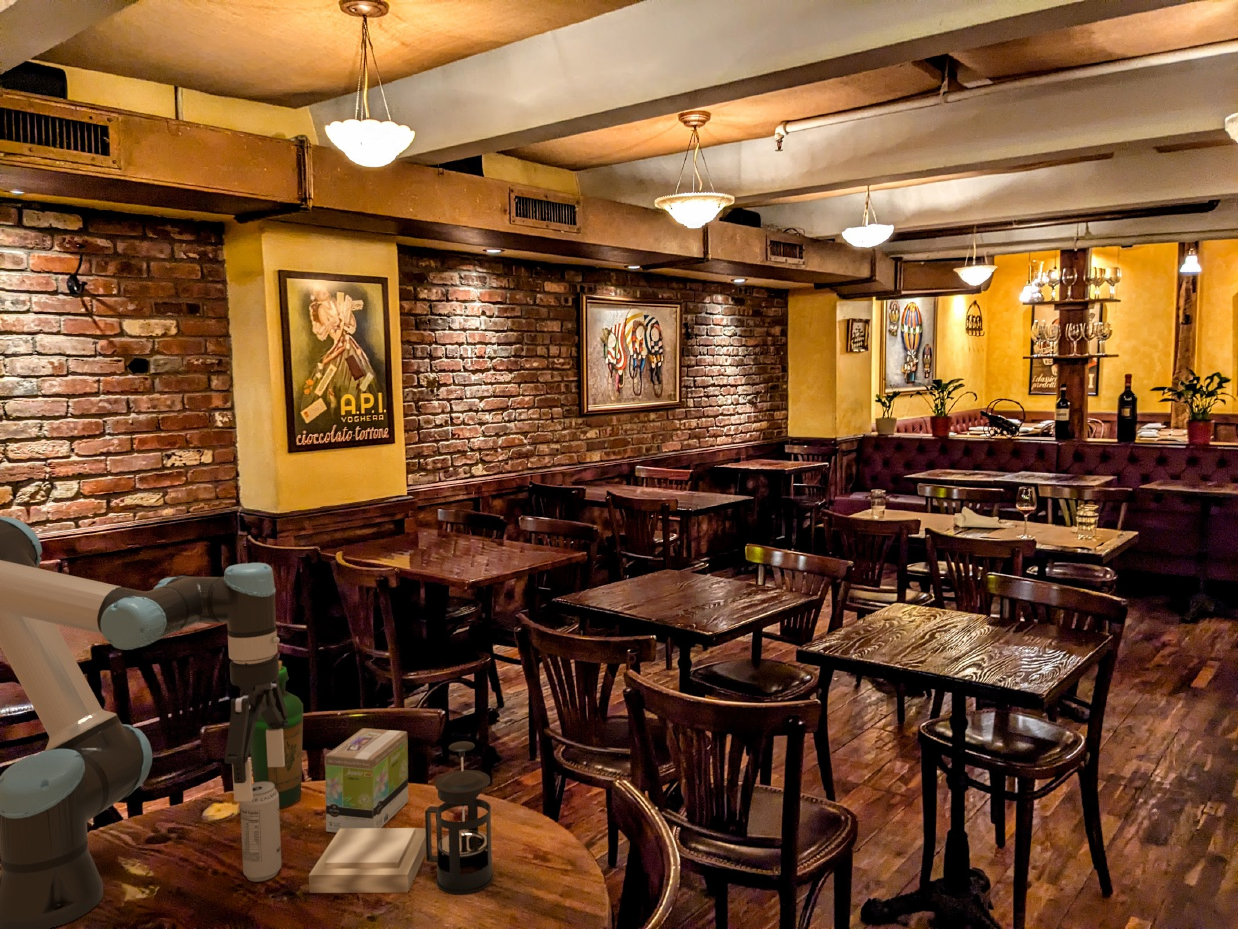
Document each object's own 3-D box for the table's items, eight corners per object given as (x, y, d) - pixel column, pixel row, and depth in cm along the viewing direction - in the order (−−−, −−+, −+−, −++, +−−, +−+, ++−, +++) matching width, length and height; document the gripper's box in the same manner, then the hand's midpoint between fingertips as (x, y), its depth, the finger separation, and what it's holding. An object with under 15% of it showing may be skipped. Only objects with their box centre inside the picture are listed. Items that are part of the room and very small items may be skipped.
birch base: (309, 892, 149) (308, 869, 149) (340, 844, 165) (339, 823, 165) (408, 892, 149) (407, 868, 149) (429, 844, 165) (429, 822, 165)
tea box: (375, 838, 168) (372, 758, 167) (324, 833, 170) (321, 755, 169) (410, 802, 183) (408, 729, 182) (363, 798, 185) (360, 726, 184)
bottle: (296, 813, 178) (291, 670, 176) (241, 813, 178) (234, 671, 176) (314, 789, 189) (309, 654, 187) (262, 790, 189) (256, 655, 187)
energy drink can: (287, 873, 156) (284, 787, 154) (252, 887, 151) (248, 798, 150) (272, 861, 160) (268, 777, 159) (237, 874, 156) (233, 787, 155)
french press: (504, 868, 157) (502, 735, 155) (486, 898, 147) (483, 757, 146) (439, 862, 159) (435, 731, 157) (417, 891, 150) (413, 752, 148)
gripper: (245, 680, 140) (252, 816, 142) (303, 637, 165) (309, 753, 167) (195, 681, 140) (203, 816, 142) (261, 638, 165) (267, 754, 167)
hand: (260, 782), depth 154 cm, fingers open, 13 cm apart
